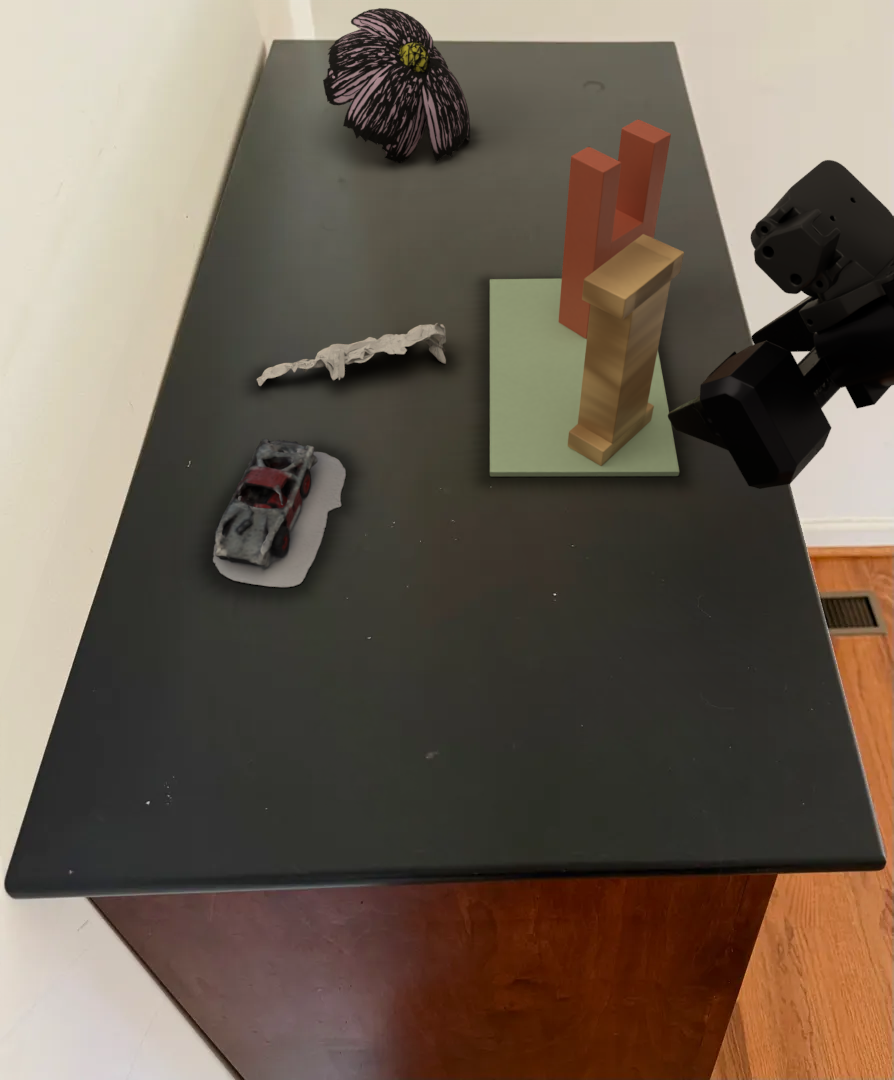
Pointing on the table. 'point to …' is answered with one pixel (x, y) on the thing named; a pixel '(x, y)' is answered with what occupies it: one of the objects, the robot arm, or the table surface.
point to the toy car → (278, 514)
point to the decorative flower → (396, 86)
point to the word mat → (554, 392)
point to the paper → (365, 351)
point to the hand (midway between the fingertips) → (715, 380)
